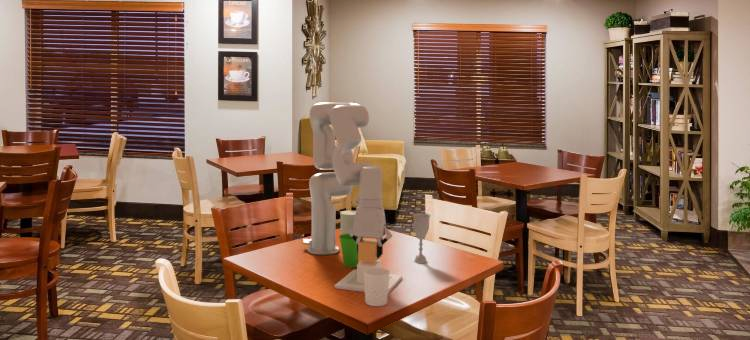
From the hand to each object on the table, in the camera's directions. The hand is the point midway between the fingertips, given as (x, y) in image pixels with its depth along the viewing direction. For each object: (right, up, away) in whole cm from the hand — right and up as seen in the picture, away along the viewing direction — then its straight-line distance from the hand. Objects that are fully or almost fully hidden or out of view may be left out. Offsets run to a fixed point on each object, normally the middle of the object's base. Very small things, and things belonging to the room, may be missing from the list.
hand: (369, 255), depth 206 cm
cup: (-7, -7, +21) cm, 24 cm away
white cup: (+2, -12, -17) cm, 21 cm away
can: (-9, -1, +60) cm, 61 cm away
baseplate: (0, -9, +1) cm, 10 cm away
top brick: (0, -1, 0) cm, 1 cm away
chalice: (+19, -6, +27) cm, 34 cm away
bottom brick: (0, -8, +1) cm, 8 cm away
